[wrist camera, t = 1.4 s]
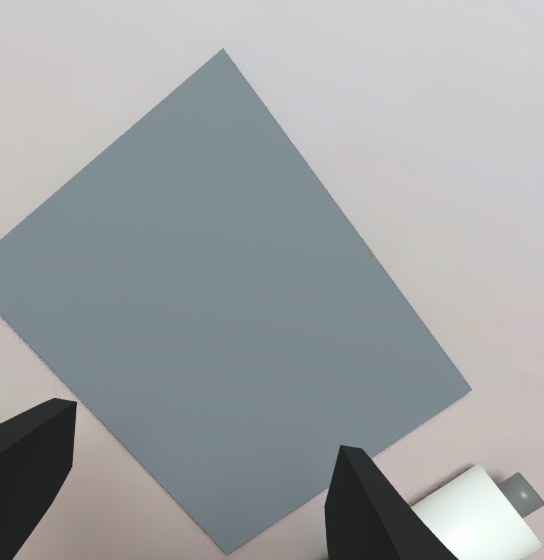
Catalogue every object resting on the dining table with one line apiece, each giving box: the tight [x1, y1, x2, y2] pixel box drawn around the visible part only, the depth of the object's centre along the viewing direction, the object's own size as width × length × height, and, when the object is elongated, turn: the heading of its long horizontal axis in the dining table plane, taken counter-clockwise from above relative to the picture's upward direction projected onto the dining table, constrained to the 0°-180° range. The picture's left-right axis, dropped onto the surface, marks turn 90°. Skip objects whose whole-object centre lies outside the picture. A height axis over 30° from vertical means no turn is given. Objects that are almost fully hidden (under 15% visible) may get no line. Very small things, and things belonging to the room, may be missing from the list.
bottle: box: [410, 464, 544, 560], centre depth 20 cm, size 4×12×4 cm, turn 128°
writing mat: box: [0, 49, 472, 555], centre depth 20 cm, size 20×16×1 cm
